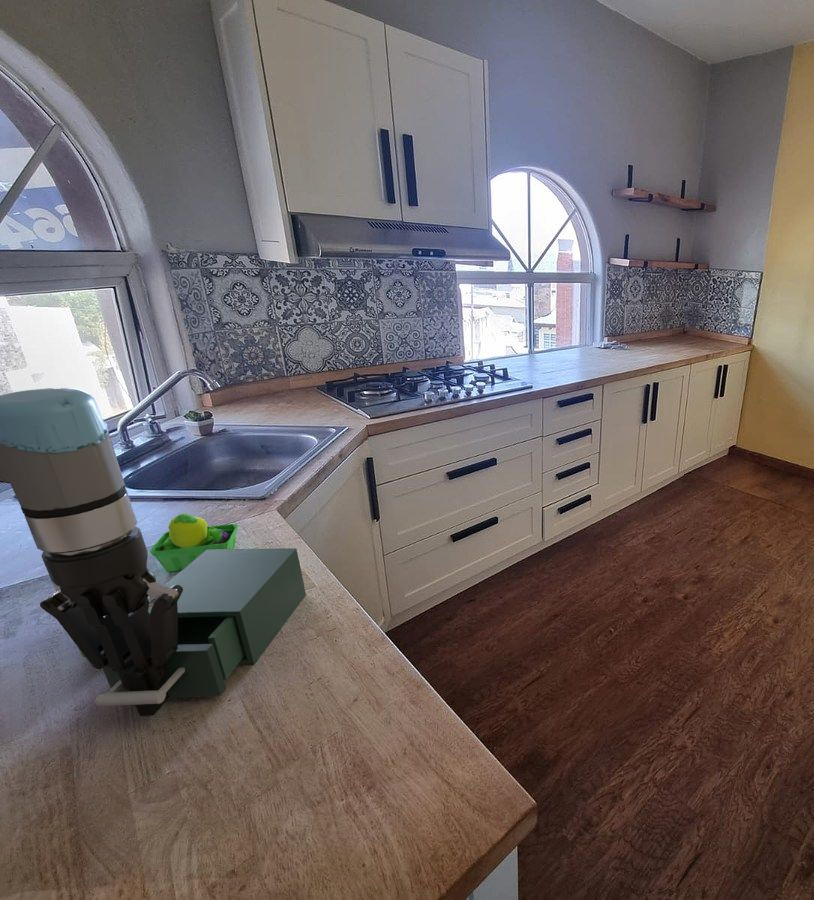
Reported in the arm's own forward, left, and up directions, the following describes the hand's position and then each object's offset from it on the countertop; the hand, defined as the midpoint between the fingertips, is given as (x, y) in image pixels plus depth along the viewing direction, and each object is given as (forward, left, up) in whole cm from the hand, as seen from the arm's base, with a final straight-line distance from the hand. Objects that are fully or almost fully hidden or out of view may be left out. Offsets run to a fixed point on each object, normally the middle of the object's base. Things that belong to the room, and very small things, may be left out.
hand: (155, 706), depth 61 cm
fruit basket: (-16, +34, -2) cm, 38 cm away
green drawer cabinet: (0, +16, -2) cm, 16 cm away
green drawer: (0, +7, -1) cm, 7 cm away
